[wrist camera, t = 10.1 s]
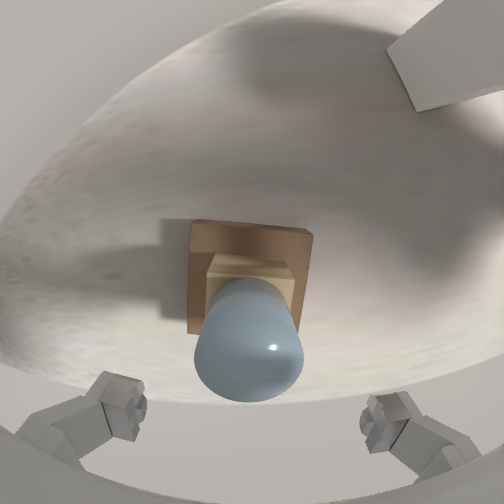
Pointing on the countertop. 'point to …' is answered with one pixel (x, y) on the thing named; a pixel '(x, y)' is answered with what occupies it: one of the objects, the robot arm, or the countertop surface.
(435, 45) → the milk carton
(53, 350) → the countertop surface
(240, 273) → the oak cube
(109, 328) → the countertop surface
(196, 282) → the walnut pedestal
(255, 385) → the ceramic cylinder
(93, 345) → the countertop surface
